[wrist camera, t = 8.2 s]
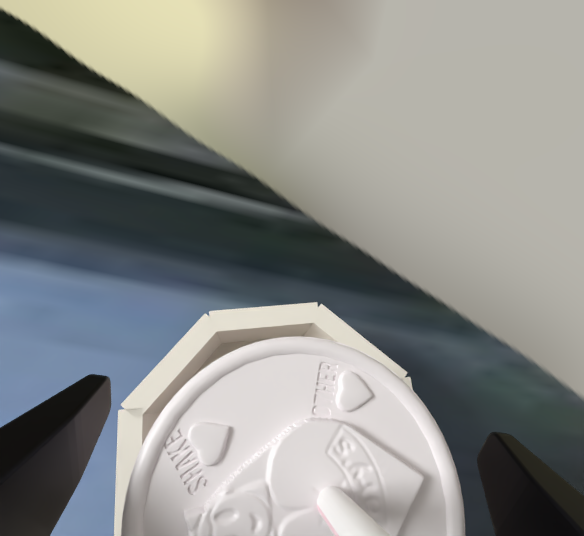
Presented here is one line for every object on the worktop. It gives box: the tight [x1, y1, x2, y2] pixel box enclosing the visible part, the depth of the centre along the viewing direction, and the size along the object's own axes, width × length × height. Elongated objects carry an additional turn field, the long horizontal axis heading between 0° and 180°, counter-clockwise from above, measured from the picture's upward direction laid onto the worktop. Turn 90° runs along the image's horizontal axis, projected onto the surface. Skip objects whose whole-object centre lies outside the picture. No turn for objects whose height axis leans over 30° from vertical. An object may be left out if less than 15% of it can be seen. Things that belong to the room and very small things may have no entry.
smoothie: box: [121, 336, 465, 536], centre depth 9 cm, size 6×6×14 cm
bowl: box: [114, 302, 413, 536], centre depth 15 cm, size 11×11×4 cm
